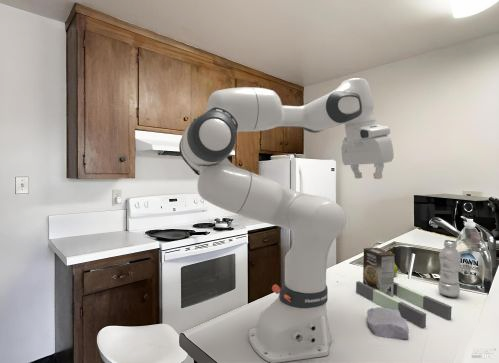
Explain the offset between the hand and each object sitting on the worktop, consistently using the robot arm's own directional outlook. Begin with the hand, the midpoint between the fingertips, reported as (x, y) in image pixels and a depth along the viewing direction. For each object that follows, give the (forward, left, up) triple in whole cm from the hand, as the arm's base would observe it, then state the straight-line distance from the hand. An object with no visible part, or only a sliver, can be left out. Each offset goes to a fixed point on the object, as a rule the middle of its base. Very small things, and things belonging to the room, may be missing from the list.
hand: (367, 178), depth 86 cm
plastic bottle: (+40, 0, -43) cm, 59 cm away
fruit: (+37, +23, -43) cm, 61 cm away
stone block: (+1, -7, -44) cm, 44 cm away
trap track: (+17, +2, -43) cm, 46 cm away
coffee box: (+17, +11, -43) cm, 48 cm away
